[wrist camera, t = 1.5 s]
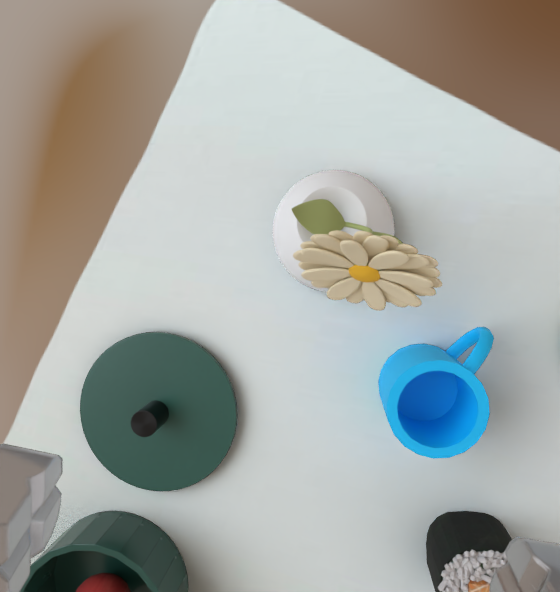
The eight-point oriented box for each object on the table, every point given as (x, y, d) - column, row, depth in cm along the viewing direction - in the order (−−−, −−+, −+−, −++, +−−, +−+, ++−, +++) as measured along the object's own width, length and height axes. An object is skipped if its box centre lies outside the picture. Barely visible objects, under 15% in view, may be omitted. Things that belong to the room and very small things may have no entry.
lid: (216, 506, 52) (204, 530, 48) (70, 459, 54) (45, 478, 49) (256, 355, 51) (247, 365, 46) (104, 312, 52) (82, 317, 48)
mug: (425, 442, 49) (443, 478, 41) (361, 389, 50) (365, 413, 42) (509, 350, 48) (544, 369, 40) (442, 296, 48) (463, 303, 40)
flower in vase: (251, 244, 50) (169, 230, 25) (321, 149, 49) (305, 33, 24) (357, 324, 49) (379, 388, 25) (430, 229, 48) (532, 197, 23)
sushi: (508, 509, 49) (541, 557, 41) (508, 591, 50) (540, 654, 42) (423, 507, 50) (439, 553, 42) (424, 587, 50) (440, 648, 43)
